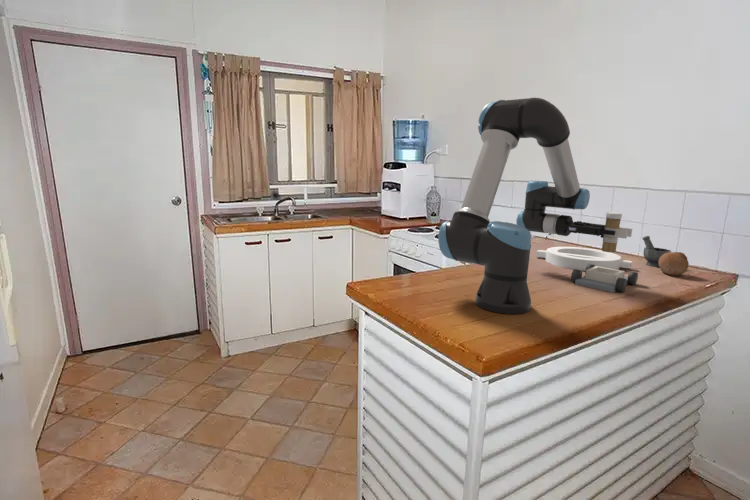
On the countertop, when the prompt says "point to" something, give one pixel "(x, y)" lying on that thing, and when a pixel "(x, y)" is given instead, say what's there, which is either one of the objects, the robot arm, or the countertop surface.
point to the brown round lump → (673, 263)
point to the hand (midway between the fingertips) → (629, 233)
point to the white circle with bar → (582, 258)
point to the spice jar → (614, 223)
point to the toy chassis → (603, 278)
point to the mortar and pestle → (652, 252)
